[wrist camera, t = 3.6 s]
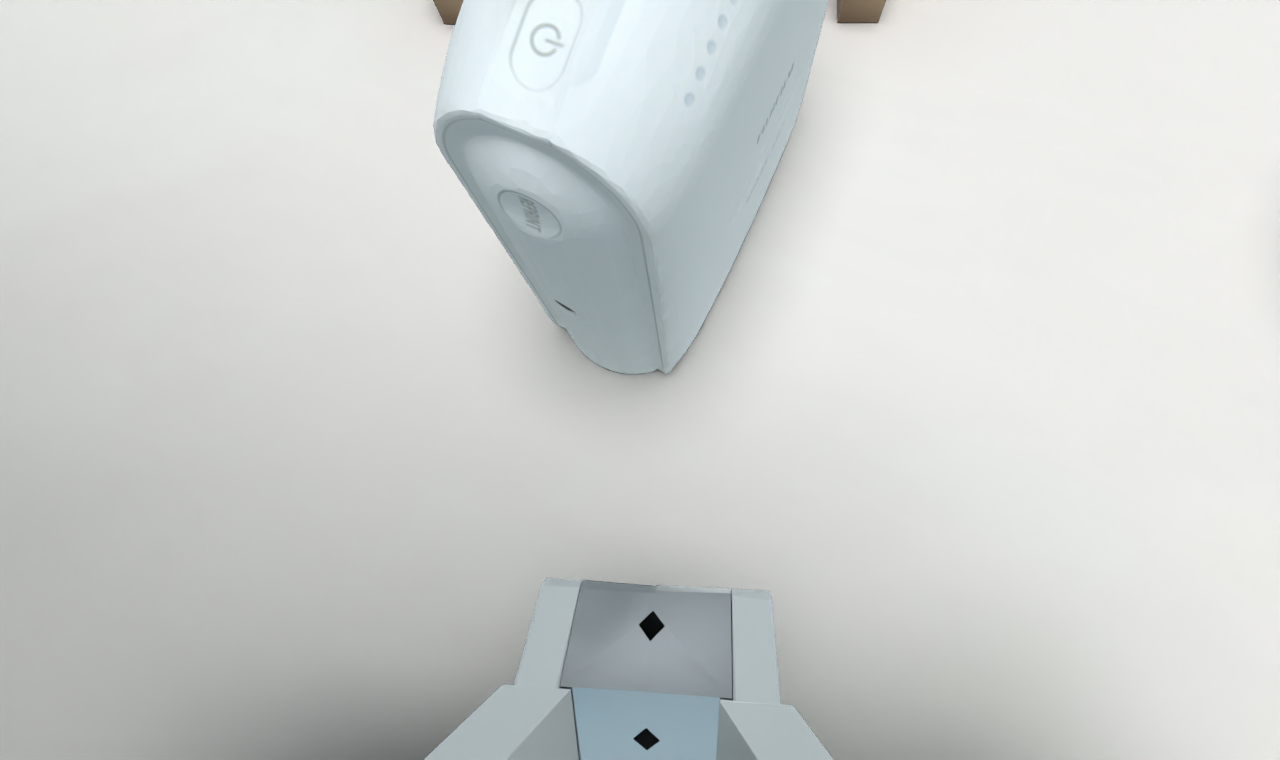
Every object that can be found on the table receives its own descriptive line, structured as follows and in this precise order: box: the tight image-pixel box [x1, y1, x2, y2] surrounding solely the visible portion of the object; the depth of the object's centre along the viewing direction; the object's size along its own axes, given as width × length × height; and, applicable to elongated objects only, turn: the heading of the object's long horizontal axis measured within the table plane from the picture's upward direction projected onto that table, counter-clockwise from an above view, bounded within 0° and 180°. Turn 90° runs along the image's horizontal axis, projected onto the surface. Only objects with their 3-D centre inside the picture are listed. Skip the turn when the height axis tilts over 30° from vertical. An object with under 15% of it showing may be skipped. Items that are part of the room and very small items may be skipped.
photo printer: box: [433, 0, 828, 374], centre depth 15 cm, size 10×4×12 cm, turn 155°
